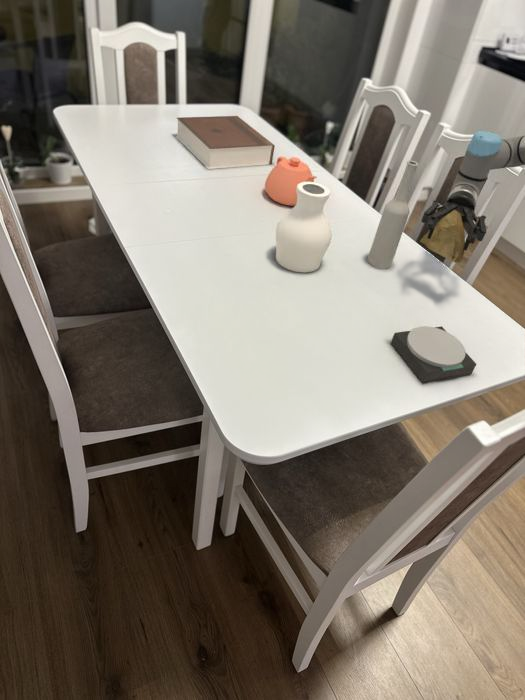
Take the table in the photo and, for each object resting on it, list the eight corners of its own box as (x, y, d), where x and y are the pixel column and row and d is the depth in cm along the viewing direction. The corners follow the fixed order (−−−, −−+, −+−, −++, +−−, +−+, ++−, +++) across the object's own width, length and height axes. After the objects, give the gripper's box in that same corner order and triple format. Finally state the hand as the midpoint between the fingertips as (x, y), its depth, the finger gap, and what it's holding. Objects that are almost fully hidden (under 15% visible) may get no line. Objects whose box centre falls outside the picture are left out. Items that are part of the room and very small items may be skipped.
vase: (333, 260, 145) (352, 190, 132) (308, 281, 135) (326, 208, 122) (288, 240, 149) (302, 170, 136) (260, 259, 140) (273, 186, 127)
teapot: (328, 213, 166) (338, 174, 158) (284, 217, 159) (292, 177, 151) (293, 181, 180) (301, 144, 172) (252, 184, 173) (257, 146, 165)
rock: (476, 258, 128) (466, 232, 134) (469, 232, 122) (458, 207, 129) (431, 275, 132) (423, 249, 138) (421, 250, 126) (413, 225, 133)
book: (235, 133, 205) (237, 115, 201) (271, 164, 188) (274, 145, 184) (175, 136, 194) (176, 117, 190) (208, 168, 177) (210, 149, 173)
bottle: (363, 255, 149) (394, 156, 131) (384, 255, 151) (418, 157, 133) (373, 269, 144) (407, 167, 126) (395, 268, 146) (431, 169, 128)
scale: (472, 375, 117) (479, 361, 114) (423, 384, 112) (429, 370, 109) (437, 336, 126) (443, 322, 123) (390, 342, 121) (395, 329, 118)
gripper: (494, 229, 142) (486, 267, 125) (417, 205, 146) (400, 239, 130) (506, 203, 137) (500, 239, 120) (427, 179, 142) (410, 210, 125)
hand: (448, 239), depth 125 cm, fingers closed on rock, 8 cm apart
